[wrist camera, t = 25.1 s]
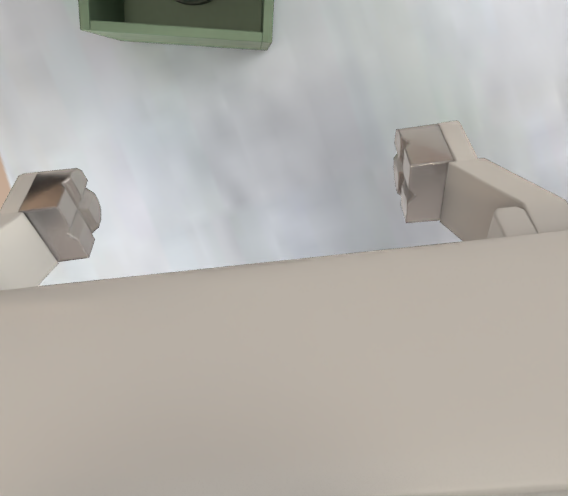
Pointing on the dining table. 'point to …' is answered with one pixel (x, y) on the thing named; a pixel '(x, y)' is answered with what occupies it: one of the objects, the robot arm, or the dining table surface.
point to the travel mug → (193, 2)
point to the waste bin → (182, 22)
